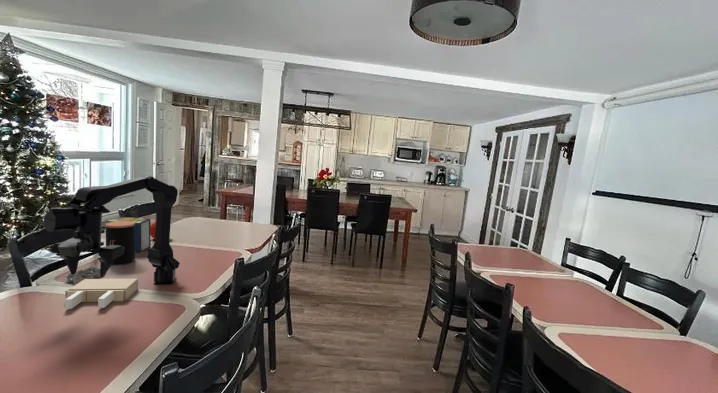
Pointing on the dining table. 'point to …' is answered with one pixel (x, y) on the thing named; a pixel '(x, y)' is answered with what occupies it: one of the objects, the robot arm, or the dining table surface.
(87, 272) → the egg carton
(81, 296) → the flap
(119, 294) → the flap
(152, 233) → the apple
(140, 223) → the protein box
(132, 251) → the coffee jar
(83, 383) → the dining table surface
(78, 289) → the carton
